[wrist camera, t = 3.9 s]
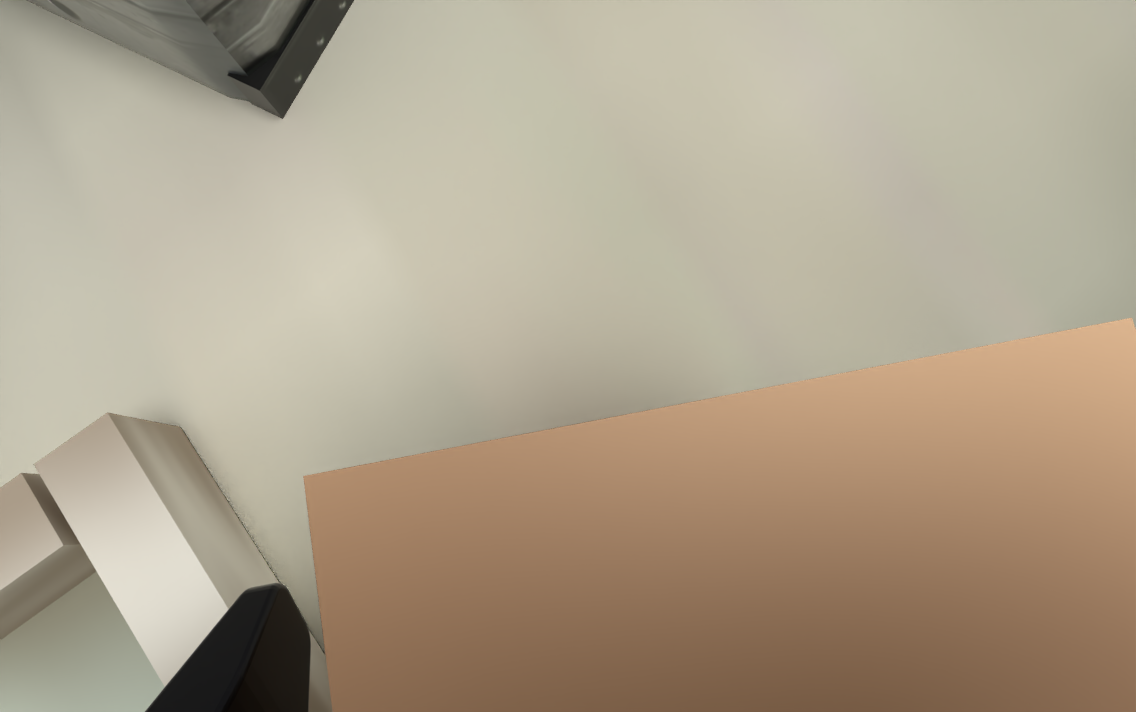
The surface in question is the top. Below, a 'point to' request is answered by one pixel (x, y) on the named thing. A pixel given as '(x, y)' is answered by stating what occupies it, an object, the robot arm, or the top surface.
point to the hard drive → (219, 39)
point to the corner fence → (118, 571)
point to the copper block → (760, 549)
